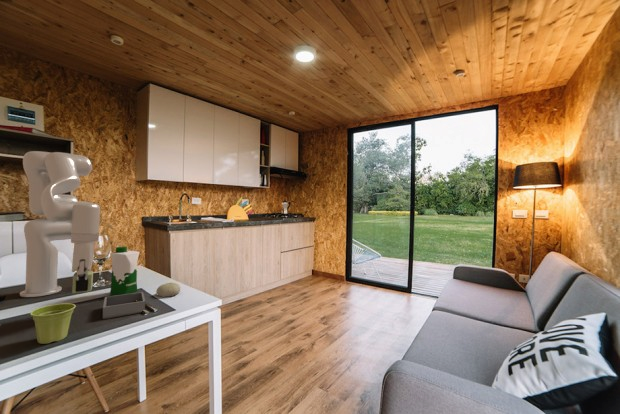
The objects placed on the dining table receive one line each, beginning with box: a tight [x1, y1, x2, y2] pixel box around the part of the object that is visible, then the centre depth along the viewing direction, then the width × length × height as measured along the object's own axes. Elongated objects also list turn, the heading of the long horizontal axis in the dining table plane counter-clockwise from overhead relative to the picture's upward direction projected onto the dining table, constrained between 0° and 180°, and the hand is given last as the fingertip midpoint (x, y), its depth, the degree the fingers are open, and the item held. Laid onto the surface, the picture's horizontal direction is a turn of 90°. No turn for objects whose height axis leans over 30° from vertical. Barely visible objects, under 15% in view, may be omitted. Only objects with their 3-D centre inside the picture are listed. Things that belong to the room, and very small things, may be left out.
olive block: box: [71, 270, 94, 294], centre depth 95 cm, size 5×5×6 cm
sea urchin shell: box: [156, 282, 181, 298], centre depth 117 cm, size 9×8×8 cm
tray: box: [102, 291, 146, 320], centre depth 99 cm, size 12×12×4 cm
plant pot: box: [30, 302, 77, 345], centre depth 77 cm, size 9×9×9 cm
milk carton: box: [109, 246, 140, 296], centre depth 117 cm, size 9×9×20 cm
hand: (82, 287), depth 95 cm, fingers closed on olive block, 5 cm apart
